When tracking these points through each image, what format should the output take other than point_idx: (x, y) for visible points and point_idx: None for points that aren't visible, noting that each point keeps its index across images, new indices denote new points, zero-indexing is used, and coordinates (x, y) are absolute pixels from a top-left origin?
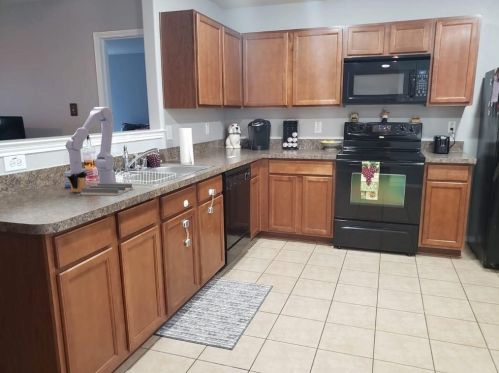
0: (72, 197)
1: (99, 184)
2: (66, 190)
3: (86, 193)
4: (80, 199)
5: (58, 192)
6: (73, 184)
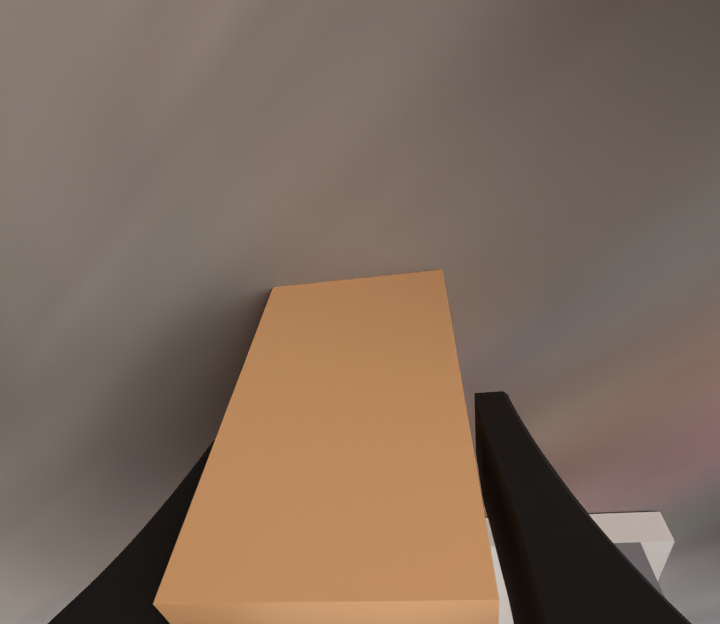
0: (18, 533)
1: None
2: (367, 16)
3: None
4: (29, 613)
5: (53, 23)
6: None
